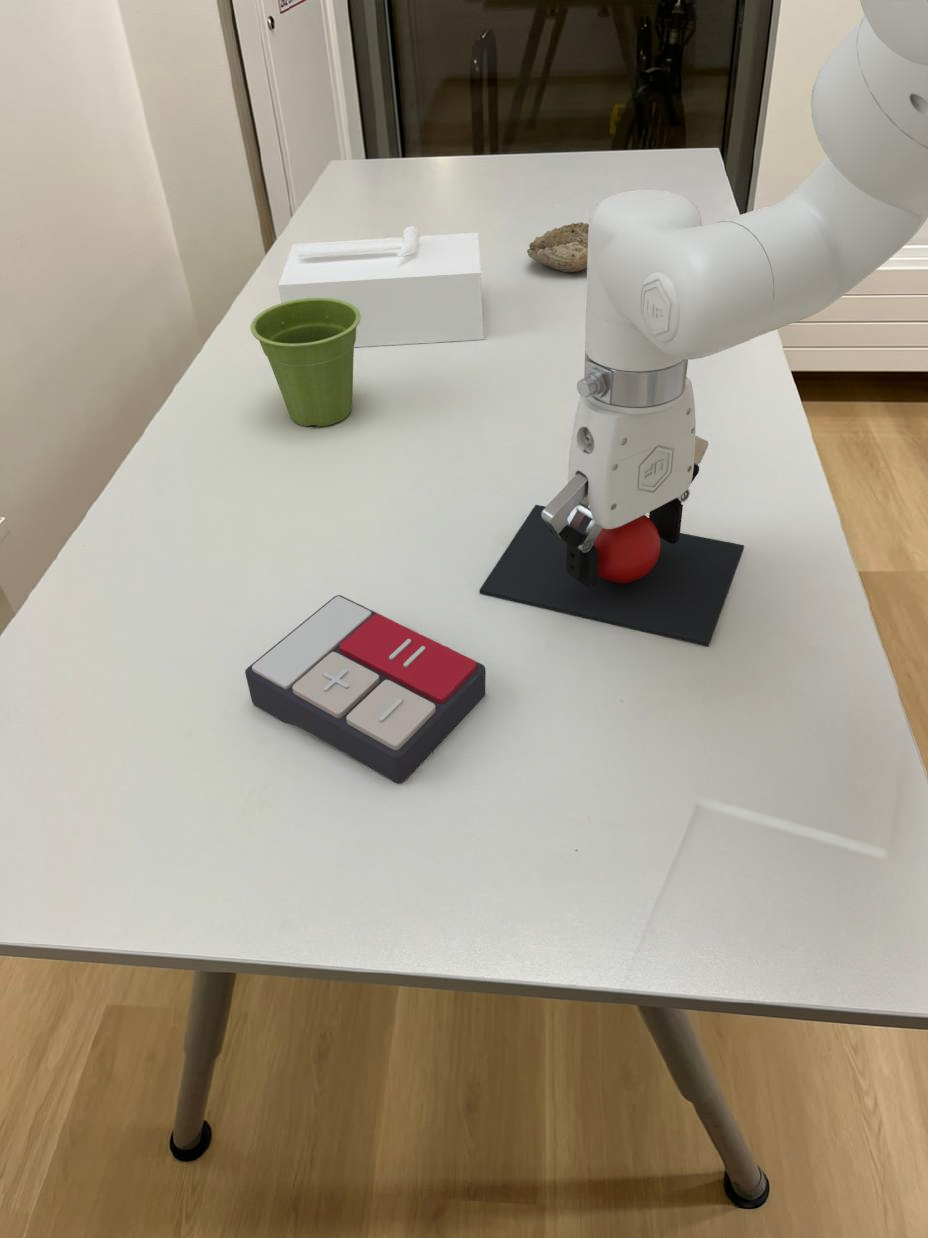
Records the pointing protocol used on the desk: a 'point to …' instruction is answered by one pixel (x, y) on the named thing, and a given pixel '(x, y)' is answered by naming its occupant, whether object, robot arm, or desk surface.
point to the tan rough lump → (562, 248)
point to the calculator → (367, 686)
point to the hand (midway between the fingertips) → (623, 557)
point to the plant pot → (311, 356)
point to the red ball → (628, 550)
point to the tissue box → (395, 285)
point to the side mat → (657, 603)
